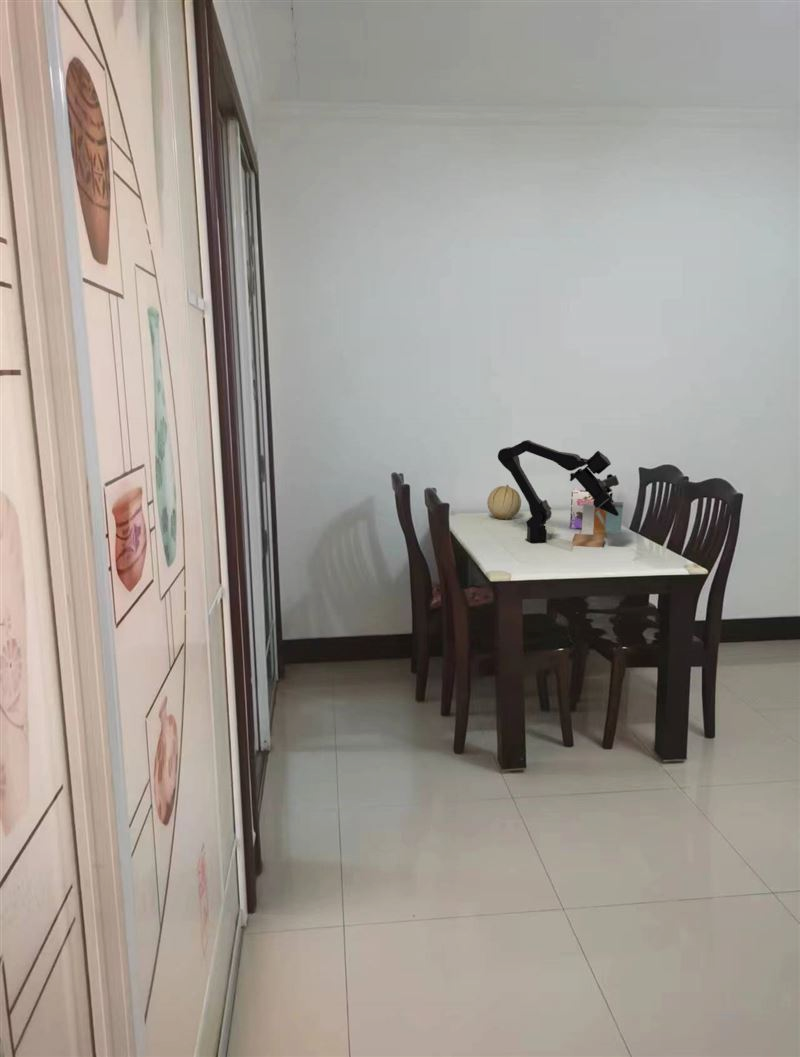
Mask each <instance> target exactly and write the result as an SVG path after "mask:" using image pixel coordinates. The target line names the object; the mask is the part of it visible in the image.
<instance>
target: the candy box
mask: <svg viewBox="0 0 800 1057" xmlns="http://www.w3.org/2000/svg"><path fill="white" fill-rule="evenodd" d="M592 498H593V497H592V496H591V495H590V494H589V493H588V492H586V491H585V488H576V487H575V488H573V489H572V490H571V503H570V520H569V522H570V523H569V524H570V525H569V529H573V530H582V519H583V504H586V503H593V501H594V500H593V499H592Z"/></svg>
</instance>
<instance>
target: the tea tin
mask: <svg viewBox="0 0 800 1057" xmlns="http://www.w3.org/2000/svg"><path fill="white" fill-rule="evenodd" d="M612 504H613V505H614V507H615V509H616V510H617V512H618V513H619V515H618V516H615V515H613V514H611V513H609V512H606V524H605V532H607V533H613V534H614V533H615V534H621V531H622V522H623V521H622V519H623V510H624V502H622V501H619V502H618V501H614V502H612Z"/></svg>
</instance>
